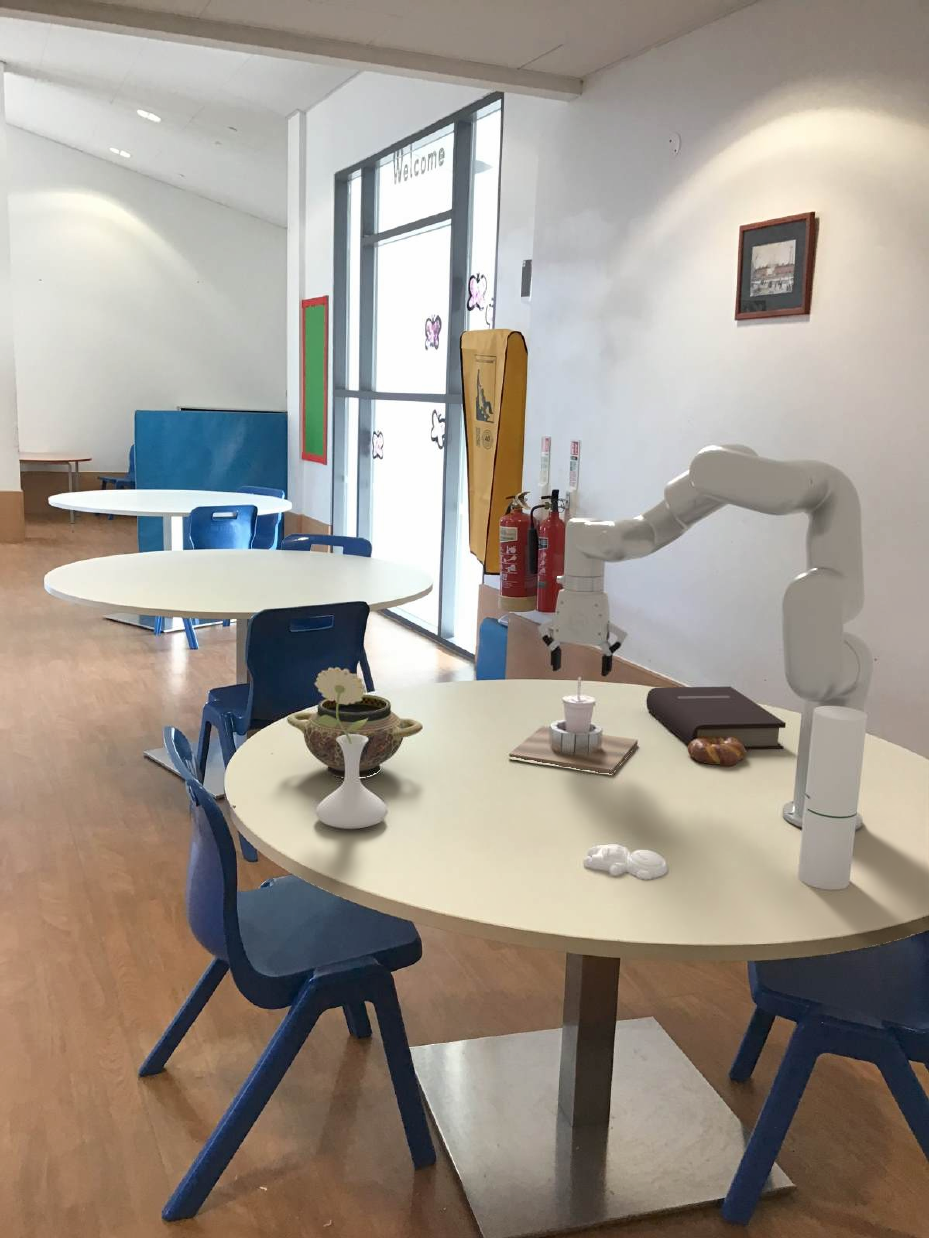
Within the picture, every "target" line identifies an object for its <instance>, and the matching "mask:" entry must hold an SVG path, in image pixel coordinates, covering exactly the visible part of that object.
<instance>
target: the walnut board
mask: <svg viewBox="0 0 929 1238" xmlns="http://www.w3.org/2000/svg"><path fill="white" fill-rule="evenodd" d="M549 731H550V726H544V725H542V726H540V727H539V728H538V729H537V730H535V732H534V733H532V734H531V735H530V736H529V737H528V738H526V739H525V740H524V741H522V742H521V743H520V744H519V745H517V747H515V748H514V749H513V750H512V751H510V752H509V755H508V757H509V756H510V757H516V758H521V759H524V760H534V761H537V762H542V763H550V764H555V765H559V766H562V767H571V768H576V769H580V770H590V771H595V772H598V773H609V774H612V773H614V771H615V770H616V769H617V768H618V767H619V766H620V764H621V763H622V762H623V761H624V760H625V758H626V757H627V756H628V755H629V754H630V753H631V751H632V750H633V749H634V748H635V746H636V747H638V741H639V740H638V739H636V738H635V739H633V738H628V737H621V736H614V735H608V734H602V748H601V750H600V751H599V752H597V753H593V754H589V755H588V754H587V755H575V754H574V755H572V754H565V753H562V752H561V753H560V752H558V751H555V750H553V749H551V747H550V746H549ZM635 749H636V748H635ZM635 749H634V750H635ZM634 750H633V751H634ZM633 751H632V752H633ZM631 754H632V753H631ZM631 754H630V755H631ZM630 755H629V756H630ZM629 756H628V757H629ZM628 757H627V758H628ZM625 761H626V760H625ZM625 761H624V762H625ZM624 762H623V763H624ZM623 763H622V764H623ZM620 767H621V766H620ZM620 767H619V768H620ZM619 768H618V769H619ZM618 769H617V770H618ZM614 774H615V773H614Z"/></svg>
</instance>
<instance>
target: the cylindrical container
mask: <svg viewBox="0 0 929 1238" xmlns="http://www.w3.org/2000/svg"><path fill="white" fill-rule="evenodd" d="M867 722H868V714H867V713H866V712H865V711H864V712H862V711H859V710H856V709H852V708H848V707H841V706H820V707H816V708H815V709H814V711H813V722H812V732H811V743H810V753H809V764H808V774H807V784H806V794H805V805H804V815H803V826H802V827H801V836H800V837H801V838H800V845H799V846H800V847H799V848H800V849H799V859H798V866H797V868H798V869H797V878H798V880H800V881H801V882H803V883H804V884H806V885H808V886H811V887H814V888H817V889H821V890H826V891H827V890H828V891H829V890H831V891H832V890H833V891H834V890H842V889H846V888H848V887H849V886H850V882H851V881H850V880H851V873H852V872H851V871H852V862H853V854H854V853H853V852H854V843H855V834H856V831H855V826H856V816H857V812H858V805H859V797H860V787H861V778H862V769H863V760H864V752H865V751H864V750H865V742H866V741H865V740H866V732H867V731H866V730H867Z"/></svg>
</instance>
